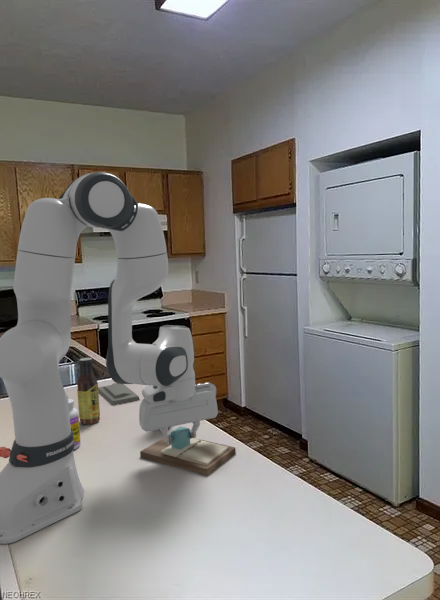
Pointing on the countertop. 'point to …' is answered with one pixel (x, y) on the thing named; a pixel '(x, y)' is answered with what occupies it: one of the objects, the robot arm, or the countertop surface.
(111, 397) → the soap mold
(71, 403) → the supplement bottle
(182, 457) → the board
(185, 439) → the panel
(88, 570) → the countertop surface
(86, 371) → the sauce bottle
